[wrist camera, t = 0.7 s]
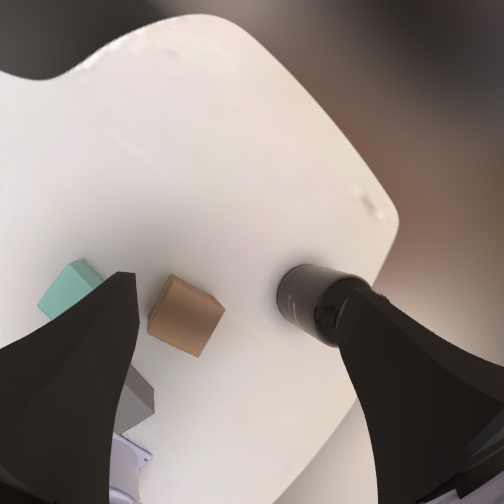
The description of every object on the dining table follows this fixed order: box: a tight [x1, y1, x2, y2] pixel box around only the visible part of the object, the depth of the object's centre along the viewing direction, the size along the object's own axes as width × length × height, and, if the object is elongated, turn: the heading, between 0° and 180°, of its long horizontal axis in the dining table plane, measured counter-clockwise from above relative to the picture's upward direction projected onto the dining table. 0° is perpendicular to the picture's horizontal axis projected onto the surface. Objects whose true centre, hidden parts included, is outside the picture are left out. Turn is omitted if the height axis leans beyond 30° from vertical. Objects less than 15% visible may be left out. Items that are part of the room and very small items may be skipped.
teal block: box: [37, 259, 104, 321], centre depth 24 cm, size 5×5×5 cm
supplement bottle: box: [278, 265, 389, 348], centre depth 27 cm, size 7×7×12 cm
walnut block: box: [147, 274, 226, 358], centre depth 27 cm, size 5×5×5 cm
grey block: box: [113, 364, 155, 436], centre depth 25 cm, size 5×5×5 cm
